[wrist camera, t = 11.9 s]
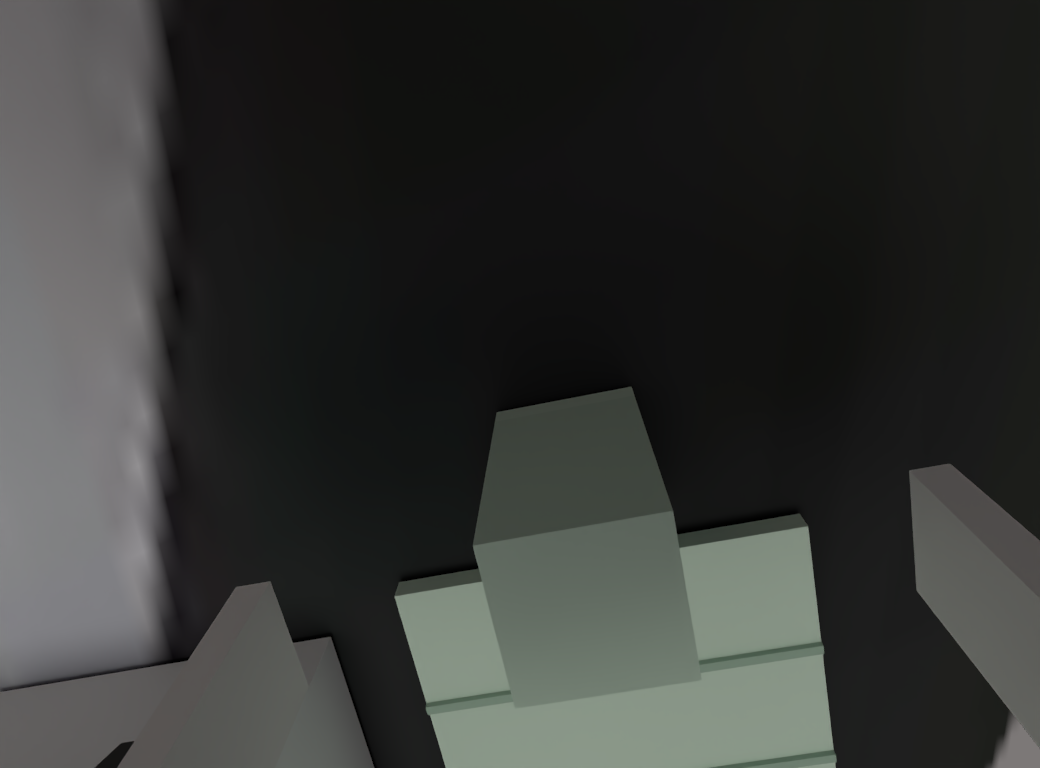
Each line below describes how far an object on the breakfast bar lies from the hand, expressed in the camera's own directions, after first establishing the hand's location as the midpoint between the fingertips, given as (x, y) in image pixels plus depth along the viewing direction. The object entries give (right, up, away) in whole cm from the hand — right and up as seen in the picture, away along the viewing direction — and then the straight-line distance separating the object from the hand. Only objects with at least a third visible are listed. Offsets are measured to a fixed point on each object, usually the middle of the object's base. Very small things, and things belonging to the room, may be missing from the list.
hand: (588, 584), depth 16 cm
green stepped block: (+2, -5, +9) cm, 11 cm away
